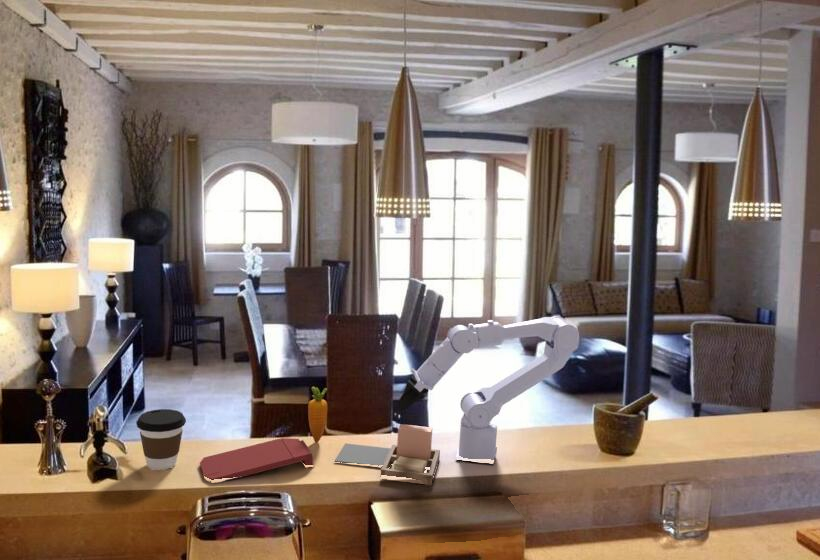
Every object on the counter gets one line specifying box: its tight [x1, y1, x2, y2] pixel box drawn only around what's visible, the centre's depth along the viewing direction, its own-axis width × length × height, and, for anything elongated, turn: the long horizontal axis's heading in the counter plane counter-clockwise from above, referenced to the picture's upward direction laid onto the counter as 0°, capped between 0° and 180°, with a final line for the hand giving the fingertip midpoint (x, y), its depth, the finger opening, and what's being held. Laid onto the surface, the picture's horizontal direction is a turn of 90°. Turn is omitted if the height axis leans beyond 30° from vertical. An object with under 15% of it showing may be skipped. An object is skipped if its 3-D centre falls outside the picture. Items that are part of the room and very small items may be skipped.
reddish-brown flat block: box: [199, 437, 314, 480], centre depth 185 cm, size 12×5×25 cm
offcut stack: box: [390, 456, 427, 473], centre depth 185 cm, size 8×5×4 cm, turn 77°
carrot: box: [307, 386, 328, 443], centre depth 199 cm, size 5×5×15 cm
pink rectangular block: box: [396, 423, 433, 459], centre depth 191 cm, size 8×3×9 cm, turn 81°
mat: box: [334, 442, 391, 466], centre depth 193 cm, size 12×11×1 cm
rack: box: [380, 444, 441, 487], centre depth 188 cm, size 12×15×2 cm
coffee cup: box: [135, 408, 187, 471], centre depth 182 cm, size 11×11×12 cm
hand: (399, 407), depth 192 cm, fingers open, 7 cm apart
